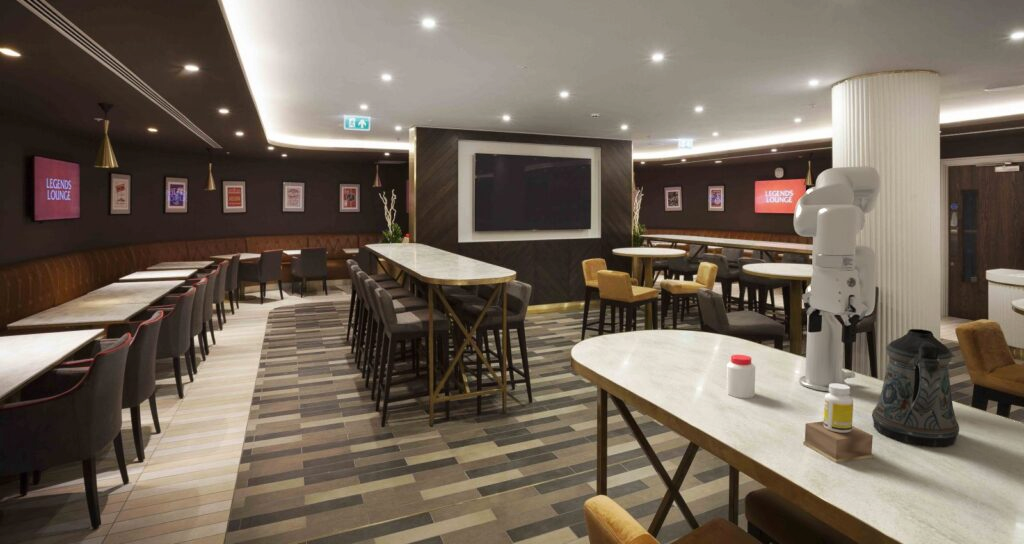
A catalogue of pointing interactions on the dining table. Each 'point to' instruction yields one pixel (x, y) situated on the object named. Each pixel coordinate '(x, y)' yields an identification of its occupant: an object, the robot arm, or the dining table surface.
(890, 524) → the dining table surface
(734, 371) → the pill bottle
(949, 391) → the patterned ceramic jug
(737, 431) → the dining table surface
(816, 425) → the walnut riser
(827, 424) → the supplement bottle
